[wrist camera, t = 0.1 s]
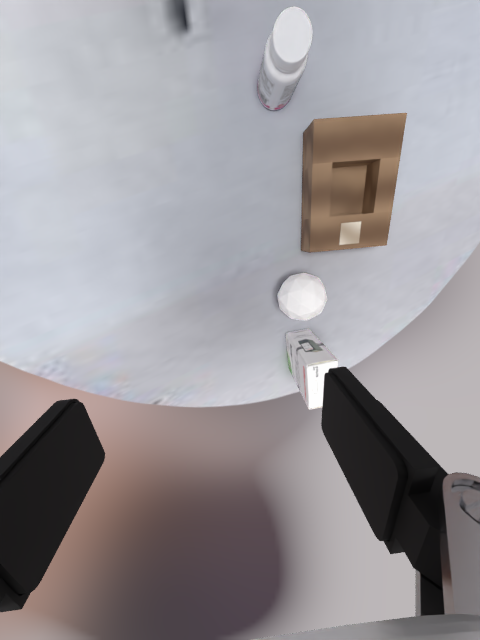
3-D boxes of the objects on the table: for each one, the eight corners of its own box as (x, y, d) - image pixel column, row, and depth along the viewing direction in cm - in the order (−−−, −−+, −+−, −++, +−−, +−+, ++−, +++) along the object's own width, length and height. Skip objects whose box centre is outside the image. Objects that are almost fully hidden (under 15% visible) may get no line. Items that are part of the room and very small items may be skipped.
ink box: (311, 364, 46) (339, 406, 35) (288, 369, 46) (308, 411, 35) (309, 327, 42) (339, 359, 31) (284, 331, 42) (305, 365, 31)
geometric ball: (288, 299, 43) (282, 332, 38) (276, 266, 38) (267, 300, 33) (330, 293, 39) (329, 330, 35) (322, 257, 34) (320, 294, 29)
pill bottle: (295, 68, 29) (322, 5, 21) (288, 114, 30) (311, 72, 23) (259, 61, 28) (273, -6, 20) (254, 108, 30) (265, 63, 22)
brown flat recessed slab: (303, 133, 31) (314, 118, 27) (385, 127, 32) (407, 112, 28) (301, 250, 37) (309, 252, 33) (370, 244, 38) (387, 245, 34)
